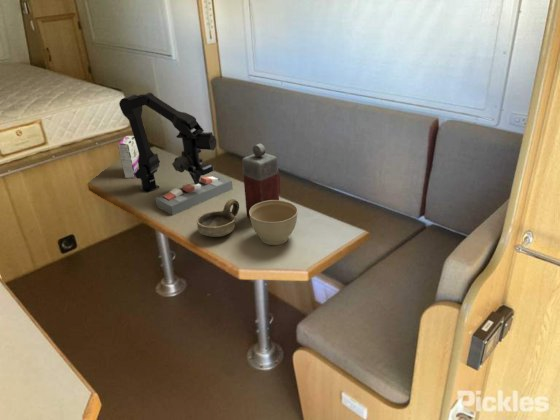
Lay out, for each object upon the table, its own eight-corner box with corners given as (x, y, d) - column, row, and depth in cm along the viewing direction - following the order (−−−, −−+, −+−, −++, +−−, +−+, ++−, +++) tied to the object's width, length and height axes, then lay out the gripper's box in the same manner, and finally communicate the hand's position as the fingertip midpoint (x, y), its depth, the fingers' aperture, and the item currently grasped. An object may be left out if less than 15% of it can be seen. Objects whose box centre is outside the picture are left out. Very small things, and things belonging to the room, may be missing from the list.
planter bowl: (305, 245, 157) (304, 217, 152) (257, 255, 154) (255, 226, 148) (290, 223, 171) (289, 196, 166) (246, 231, 167) (244, 204, 162)
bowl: (189, 234, 167) (185, 209, 162) (227, 216, 178) (225, 192, 173) (214, 248, 158) (210, 222, 154) (252, 228, 169) (250, 203, 164)
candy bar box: (131, 168, 223) (124, 135, 215) (142, 168, 223) (135, 135, 215) (124, 178, 213) (117, 144, 205) (135, 178, 213) (128, 143, 205)
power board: (156, 206, 187) (155, 197, 185) (216, 181, 206) (215, 173, 204) (172, 215, 180) (171, 205, 178) (232, 188, 199) (231, 180, 197)
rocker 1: (165, 200, 187) (163, 196, 186) (177, 190, 190) (175, 187, 189) (170, 202, 184) (168, 199, 183) (182, 193, 187) (181, 189, 186)
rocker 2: (182, 189, 192) (182, 185, 191) (195, 186, 196) (195, 182, 195) (188, 192, 189) (187, 188, 189) (201, 188, 194) (200, 184, 193)
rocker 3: (200, 181, 197) (200, 177, 196) (212, 180, 202) (212, 176, 201) (205, 183, 195) (206, 179, 194) (217, 182, 199) (218, 178, 199)
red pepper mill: (284, 212, 179) (281, 141, 166) (263, 223, 172) (258, 151, 158) (267, 205, 184) (263, 136, 171) (246, 216, 177) (240, 145, 164)
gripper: (160, 149, 187) (167, 184, 194) (188, 160, 175) (194, 197, 183) (183, 140, 194) (189, 175, 201) (211, 150, 182) (216, 187, 190)
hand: (196, 183), depth 194 cm, fingers closed, pressing on rocker 2
